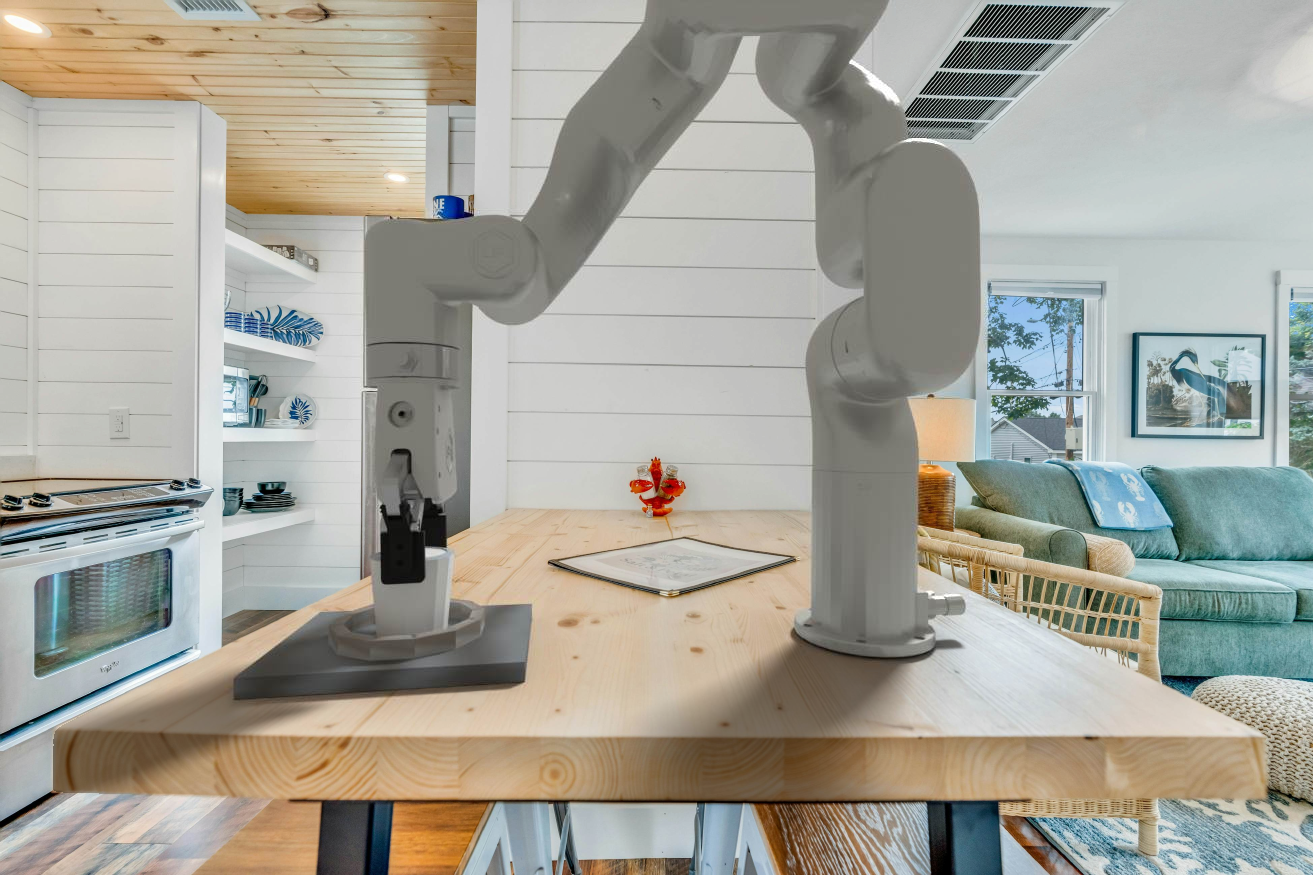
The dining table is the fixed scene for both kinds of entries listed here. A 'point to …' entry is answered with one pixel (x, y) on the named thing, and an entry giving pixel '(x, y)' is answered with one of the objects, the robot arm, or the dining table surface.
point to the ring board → (393, 654)
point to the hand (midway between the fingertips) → (417, 569)
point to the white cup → (414, 597)
